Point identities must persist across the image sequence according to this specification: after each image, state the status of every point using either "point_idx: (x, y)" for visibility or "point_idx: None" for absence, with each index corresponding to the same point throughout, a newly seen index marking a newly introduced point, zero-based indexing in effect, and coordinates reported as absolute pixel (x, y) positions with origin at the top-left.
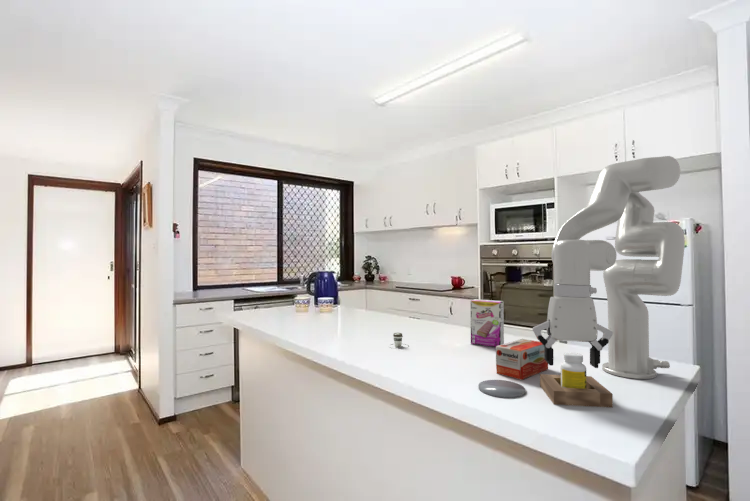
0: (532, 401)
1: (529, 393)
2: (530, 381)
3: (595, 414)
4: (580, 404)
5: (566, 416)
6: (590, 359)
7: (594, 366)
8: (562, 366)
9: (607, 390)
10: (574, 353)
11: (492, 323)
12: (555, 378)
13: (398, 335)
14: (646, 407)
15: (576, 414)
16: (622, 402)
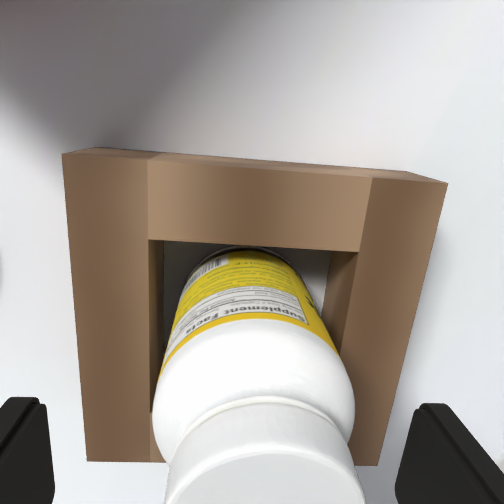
0: (14, 382)
1: (10, 281)
2: (43, 40)
3: None
4: None
5: (129, 500)
6: (438, 455)
7: (397, 495)
8: (155, 436)
9: (381, 428)
10: (305, 483)
11: None
12: (165, 237)
13: None
14: (499, 395)
15: None
16: (438, 354)
